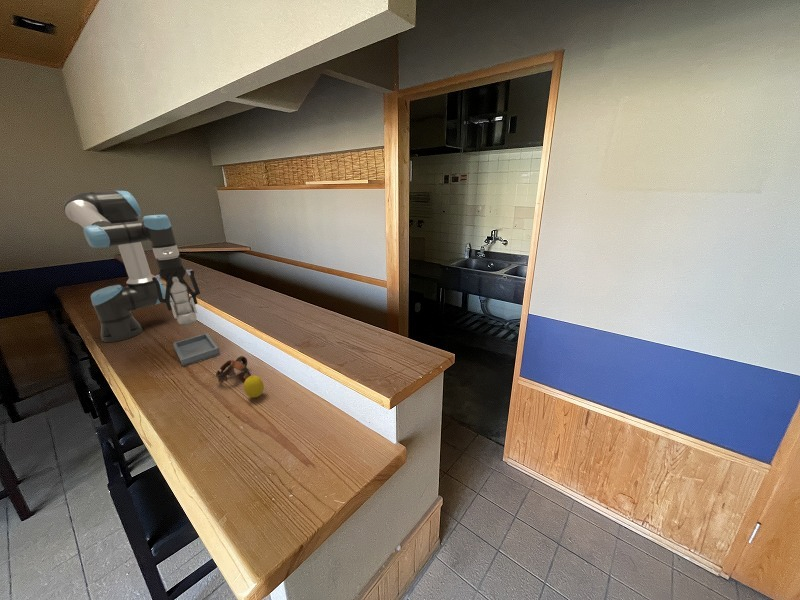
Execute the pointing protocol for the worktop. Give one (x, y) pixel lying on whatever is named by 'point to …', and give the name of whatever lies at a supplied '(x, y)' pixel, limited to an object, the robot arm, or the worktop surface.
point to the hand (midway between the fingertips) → (185, 314)
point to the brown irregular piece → (230, 370)
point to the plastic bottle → (182, 302)
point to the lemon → (253, 386)
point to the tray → (196, 349)
